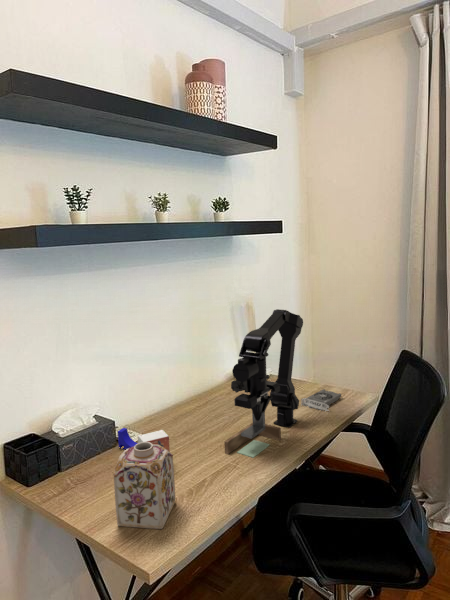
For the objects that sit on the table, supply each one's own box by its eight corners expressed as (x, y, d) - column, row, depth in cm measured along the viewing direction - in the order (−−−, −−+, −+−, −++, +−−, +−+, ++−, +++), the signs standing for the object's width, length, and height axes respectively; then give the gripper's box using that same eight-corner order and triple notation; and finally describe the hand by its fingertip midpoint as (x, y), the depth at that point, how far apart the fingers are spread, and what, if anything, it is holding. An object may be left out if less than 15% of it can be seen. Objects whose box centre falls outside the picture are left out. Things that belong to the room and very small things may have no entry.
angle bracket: (254, 426, 149) (254, 408, 148) (265, 429, 147) (264, 411, 146) (241, 435, 143) (240, 417, 142) (251, 438, 141) (251, 420, 140)
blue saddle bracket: (157, 449, 149) (156, 431, 148) (149, 455, 144) (148, 437, 144) (127, 443, 154) (126, 426, 153) (118, 448, 150) (117, 431, 149)
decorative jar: (176, 501, 118) (173, 436, 116) (163, 530, 107) (159, 458, 104) (132, 499, 120) (128, 434, 118) (115, 527, 109) (109, 456, 106)
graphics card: (327, 405, 172) (300, 398, 180) (327, 415, 172) (300, 407, 180) (348, 393, 184) (322, 386, 192) (348, 402, 185) (321, 395, 193)
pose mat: (254, 440, 151) (254, 439, 151) (269, 445, 148) (269, 444, 148) (236, 452, 143) (236, 452, 143) (253, 457, 140) (253, 456, 140)
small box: (145, 477, 131) (142, 442, 130) (139, 468, 136) (136, 435, 135) (171, 469, 135) (169, 435, 133) (164, 461, 140) (162, 428, 138)
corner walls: (255, 432, 158) (254, 421, 157) (280, 439, 152) (280, 427, 151) (224, 453, 143) (224, 441, 143) (252, 461, 138) (251, 449, 137)
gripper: (251, 361, 157) (253, 405, 159) (219, 376, 142) (221, 424, 144) (280, 366, 151) (281, 411, 153) (249, 382, 136) (251, 432, 138)
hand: (258, 419), depth 147 cm, fingers closed on angle bracket
